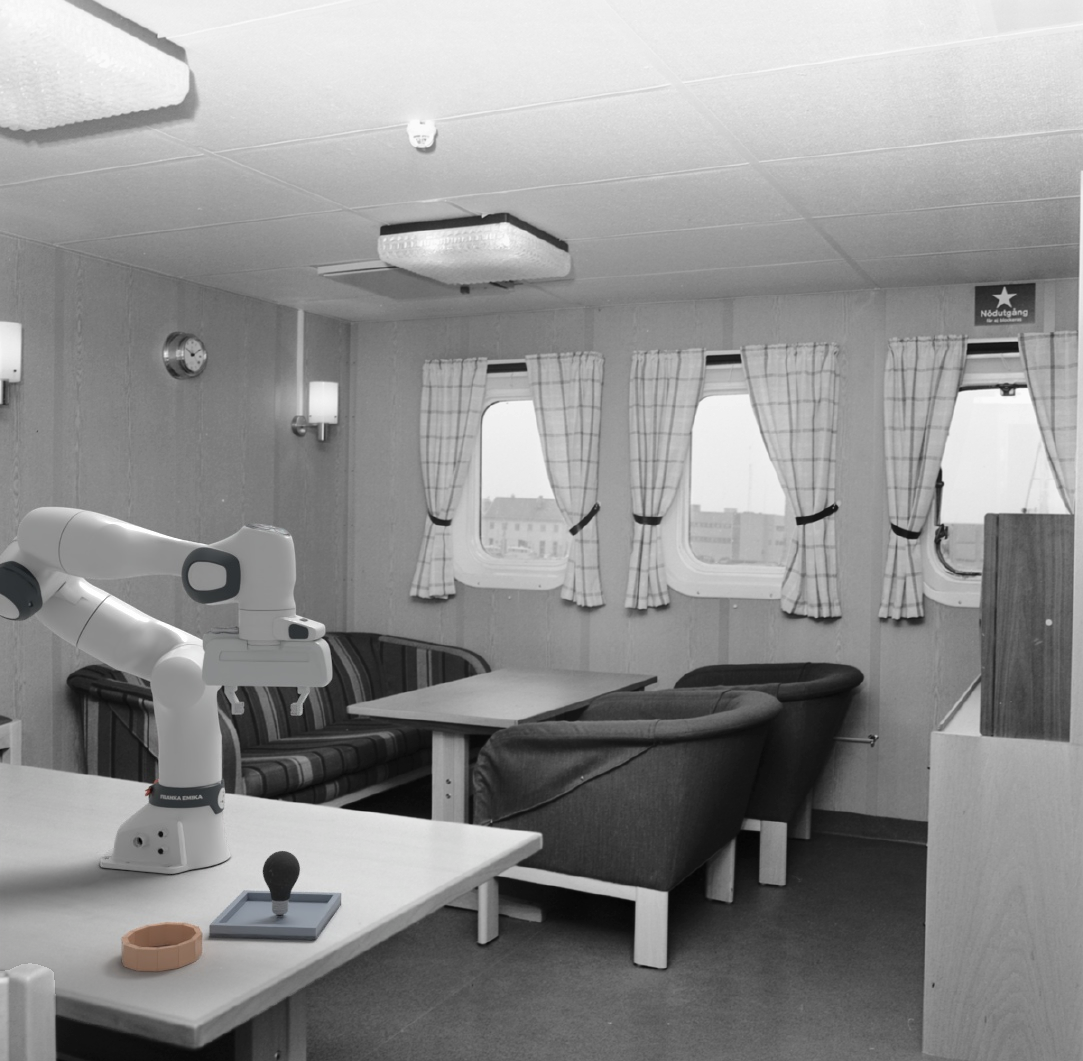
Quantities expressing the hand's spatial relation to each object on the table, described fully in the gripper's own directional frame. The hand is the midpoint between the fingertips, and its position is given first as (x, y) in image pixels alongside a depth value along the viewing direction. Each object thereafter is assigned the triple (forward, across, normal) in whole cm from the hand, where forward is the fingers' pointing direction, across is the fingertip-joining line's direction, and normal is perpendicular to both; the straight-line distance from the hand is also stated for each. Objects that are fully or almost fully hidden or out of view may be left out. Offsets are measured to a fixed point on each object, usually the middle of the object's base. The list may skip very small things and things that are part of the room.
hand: (267, 714), depth 184 cm
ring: (+31, -9, -20) cm, 38 cm away
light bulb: (+31, +3, -4) cm, 31 cm away
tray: (+31, +3, -4) cm, 31 cm away
